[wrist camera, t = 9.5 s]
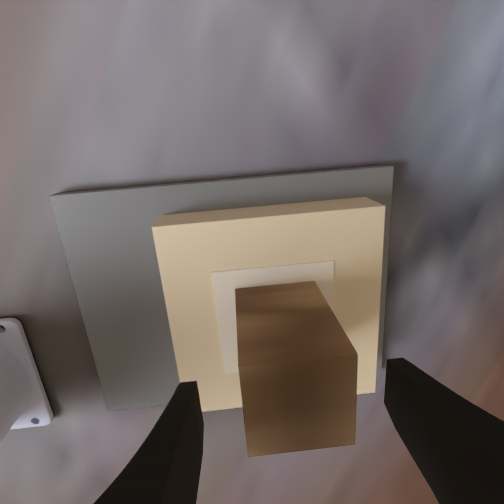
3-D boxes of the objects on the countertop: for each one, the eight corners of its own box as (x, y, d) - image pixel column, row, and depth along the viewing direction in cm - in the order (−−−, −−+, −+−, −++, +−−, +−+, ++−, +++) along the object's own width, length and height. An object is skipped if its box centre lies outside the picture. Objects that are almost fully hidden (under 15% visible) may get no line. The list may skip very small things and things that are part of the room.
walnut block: (241, 356, 18) (248, 456, 12) (234, 288, 17) (238, 367, 11) (315, 348, 18) (355, 444, 13) (314, 280, 17) (358, 354, 11)
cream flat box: (113, 399, 23) (93, 446, 19) (57, 192, 18) (18, 206, 15) (374, 371, 23) (399, 411, 20) (385, 164, 19) (420, 170, 15)
